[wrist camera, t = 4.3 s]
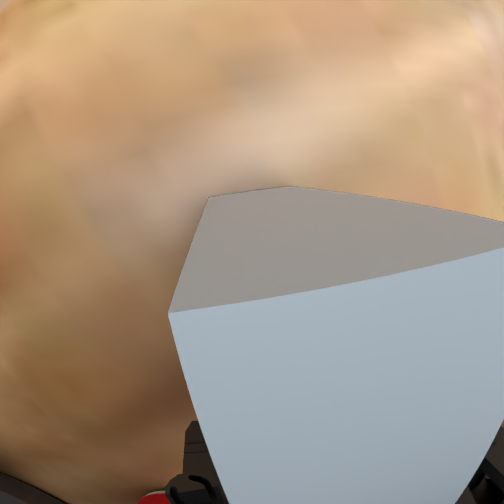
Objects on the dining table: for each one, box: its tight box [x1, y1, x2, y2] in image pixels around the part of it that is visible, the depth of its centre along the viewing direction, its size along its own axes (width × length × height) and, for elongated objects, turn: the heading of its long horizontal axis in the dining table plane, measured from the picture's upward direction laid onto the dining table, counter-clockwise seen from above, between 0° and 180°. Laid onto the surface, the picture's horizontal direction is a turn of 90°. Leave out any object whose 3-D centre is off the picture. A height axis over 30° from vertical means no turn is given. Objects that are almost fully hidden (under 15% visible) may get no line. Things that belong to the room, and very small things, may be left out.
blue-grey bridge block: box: [168, 186, 504, 504], centre depth 8 cm, size 16×3×10 cm, turn 7°
